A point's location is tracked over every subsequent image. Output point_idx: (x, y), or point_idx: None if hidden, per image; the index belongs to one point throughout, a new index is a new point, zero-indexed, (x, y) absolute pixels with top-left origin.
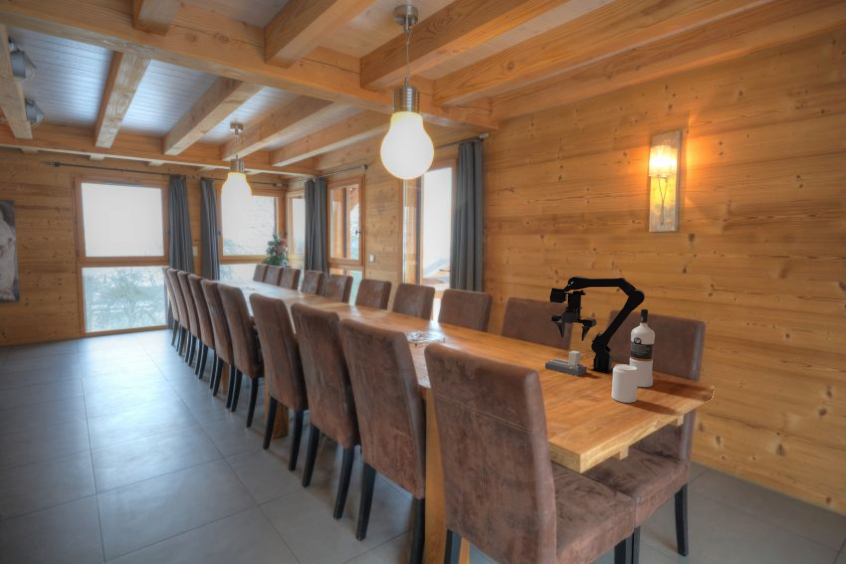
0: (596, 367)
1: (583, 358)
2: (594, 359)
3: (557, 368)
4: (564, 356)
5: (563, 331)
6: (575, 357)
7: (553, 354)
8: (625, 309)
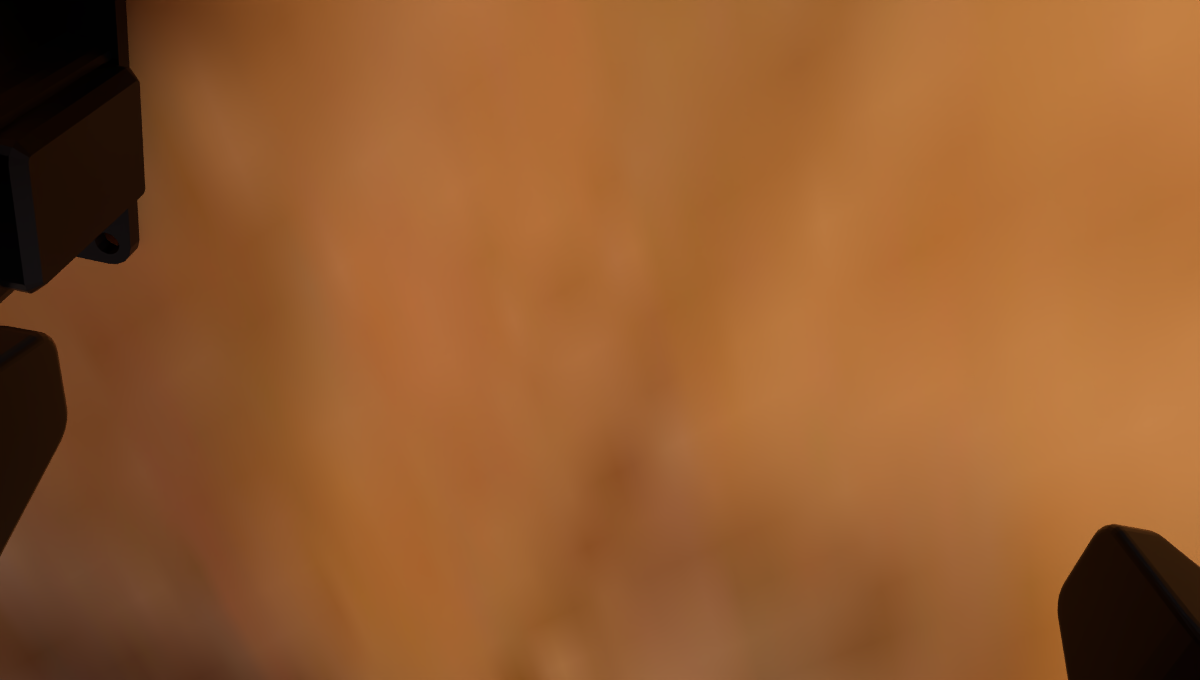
0: (21, 9)
1: (555, 609)
2: (5, 131)
3: None
4: (877, 582)
5: None
6: None
7: None
8: None
